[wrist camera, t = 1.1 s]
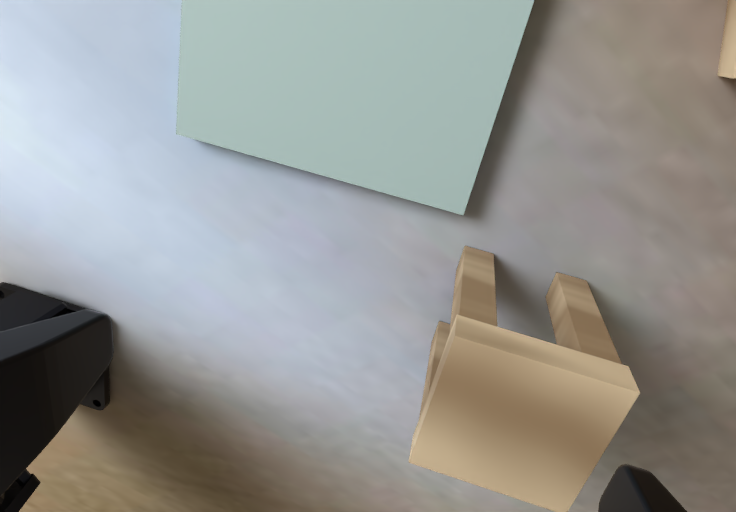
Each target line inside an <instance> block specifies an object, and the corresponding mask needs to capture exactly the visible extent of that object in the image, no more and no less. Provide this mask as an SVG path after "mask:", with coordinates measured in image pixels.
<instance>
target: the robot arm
mask: <svg viewBox="0 0 736 512" xmlns="http://www.w3.org/2000/svg"><path fill="white" fill-rule="evenodd" d="M113 351H114V349H113V334H112V321H111V319H110V317H109V316H108V315H107V314H104V313H101V312H97V311H94V310H89V309H85V308H82V307H79V306H76V305H72V304H69V303H66V302H63V301H60V300H57V299H54V298H51V297H48V296H45V295H42V294H39V293H36V292H33V291H29V290H26V289H23V288H20V287H17V286H14V285H11V284H8V283H4V282H2V283H0V512H19V510H20V509H21V508H22V506H23V505H24V504H25V503H26V501H27V500H28V499H29V497H30V496H31V495H32V493H33V492H34V491H35V489H36V488H37V487H38V485H39V484H40V481H39V480H38V479H37V477H36V476H35V475H34V474H30V473H29V472H28V471H27V470H26V468H27V467H28V466H29V465H30V464H31V462H32V461H33V460H34V459H35V458H36V457H37V456H38V455H39V454H40V453H41V451H42V450H43V449H44V448H45V447H46V446H47V445H48V444H49V442H50V441H51V440H52V439H53V438H54V437H55V435H56V434H57V433H58V432H59V430H60V429H61V428H62V427H63V425H64V424H65V423H66V422H67V420H68V419H69V418H70V416H71V415H72V414H73V412H74V411H75V410H76V408H77V407H78V405H79V404H82V405H85V406H88V407H91V408H93V409H96V410H103V409H104V408H105V407H106V406H107V405H108V404H109V402H110V399H109V364H110V362H111V360H112V357H113ZM598 511H599V512H687V511H686V510H685V509H684V508H683V507H682V505H681V504H680V503H679V502H678V501H677V500H676V499H675V498H674V497H673V496H672V495H671V493H670V492H669V491H668V490H667V489H666V488H665V487H664V486H663V485H662V484H661V483H660V481H659V480H658V479H657V478H656V477H655V476H654V475H653V474H652V473H651V472H649V471H647V470H644V469H641V468H638V467H634V466H631V465H627V464H624V465H621V466H620V467H618V469H617V470H616V472H615V473H614V475H613V477H612V479H611V480H610V482H609V484H608V486H607V487H606V489H605V491H604V493H603V495H602V497H601V499H600V502H599V510H598Z"/></svg>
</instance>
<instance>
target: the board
mask: <svg viewBox="0 0 736 512" xmlns="http://www.w3.org/2000/svg"><path fill="white" fill-rule="evenodd" d="M533 3H534V0H182V9H181V32H180V55H179V78H178V101H177V124H176V134H177V135H181V136H184V137H188V138H191V139H195V140H198V141H202V142H205V143H209V144H212V145H216V146H220V147H223V148H227V149H230V150H234V151H237V152H241V153H244V154H248V155H251V156H255V157H258V158H262V159H266V160H269V161H273V162H276V163H280V164H283V165H287V166H290V167H294V168H297V169H301V170H304V171H308V172H312V173H315V174H319V175H322V176H326V177H329V178H333V179H336V180H340V181H343V182H347V183H350V184H354V185H357V186H361V187H365V188H368V189H372V190H375V191H379V192H382V193H386V194H389V195H393V196H396V197H400V198H403V199H407V200H411V201H414V202H418V203H421V204H425V205H428V206H432V207H435V208H439V209H442V210H446V211H449V212H453V213H457V214H460V215H464V212H465V209H466V206H467V203H468V200H469V197H470V194H471V191H472V188H473V185H474V182H475V179H476V176H477V173H478V170H479V166H480V163H481V160H482V157H483V154H484V151H485V148H486V145H487V142H488V139H489V136H490V133H491V130H492V127H493V124H494V121H495V118H496V115H497V112H498V109H499V106H500V103H501V100H502V97H503V94H504V91H505V88H506V85H507V82H508V79H509V76H510V73H511V70H512V67H513V64H514V61H515V58H516V54H517V51H518V48H519V45H520V42H521V39H522V36H523V33H524V30H525V27H526V24H527V21H528V18H529V15H530V12H531V9H532V6H533Z"/></svg>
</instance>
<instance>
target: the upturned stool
mask: <svg viewBox="0 0 736 512" xmlns="http://www.w3.org/2000/svg"><path fill="white" fill-rule="evenodd" d="M718 76H722V77H728V78H736V0H728V4H727V11H726V19H725V26H724V33H723V40H722V47H721V55H720V62H719V69H718Z"/></svg>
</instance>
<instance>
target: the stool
mask: <svg viewBox="0 0 736 512" xmlns="http://www.w3.org/2000/svg"><path fill="white" fill-rule="evenodd" d="M546 301H547V305H548V309H549V313H550V317H551V322H552V326H553V330H554V334H555V338H556V342H557V345H556V344H553V343H549V342H546V341H543V340H540V339H536V338H533V337H530V336H526V335H523V334H520V333H516V332H513V331H510V330H507V329H503V328H500V327H497V311H496V292H495V273H494V254H492V253H489V252H485V251H482V250H478V249H475V248H471V247H468V246H465V247H464V250H463V253H462V255H461V258H460V261H459V264H458V267H457V270H456V278H455V287H454V296H453V305H452V314H451V323H450V324H447V323H444V322H441V321H439V323H438V326H437V329H436V332H435V334H434V337H433V340H432V344H431V350H430V356H429V362H428V368H427V375H426V381H425V387H424V393H423V399H422V405H421V411H420V417H419V421H418V424H417V426H416V429H415V432H414V435H413V440H412V445H411V451H410V457H409V463H412V464H415V465H418V466H421V467H424V468H427V469H430V470H433V471H436V472H439V473H442V474H445V475H448V476H451V477H454V478H457V479H460V480H463V481H466V482H469V483H472V484H475V485H477V486H480V487H483V488H486V489H489V490H492V491H495V492H498V493H501V494H504V495H507V496H510V497H513V498H516V499H519V500H522V501H525V502H528V503H531V504H534V505H537V506H540V507H543V508H546V509H549V510H552V511H555V512H568V510H569V508H570V507H571V505H572V503H573V502H574V500H575V499H576V497H577V495H578V494H579V492H580V490H581V489H582V487H583V485H584V484H585V482H586V481H587V479H588V477H589V476H590V474H591V472H592V471H593V469H594V467H595V466H596V464H597V463H598V461H599V459H600V458H601V456H602V454H603V453H604V451H605V449H606V448H607V446H608V445H609V443H610V441H611V440H612V438H613V436H614V435H615V433H616V432H617V430H618V428H619V427H620V425H621V423H622V422H623V420H624V418H625V417H626V415H627V414H628V412H629V410H630V409H631V407H632V405H633V404H634V402H635V400H636V399H637V397H638V396H639V394H640V391H639V389H638V387H637V385H636V382H635V380H634V378H633V376H632V373H631V371H630V369H629V367H628V366H625V365H622V363H621V361H620V359H619V356H618V354H617V351H616V349H615V347H614V344H613V342H612V340H611V337H610V335H609V333H608V330H607V328H606V326H605V323H604V321H603V319H602V316H601V314H600V312H599V309H598V307H597V305H596V302H595V300H594V297H593V295H592V293H591V290H590V288H589V286H588V283H587V281H586V280H582V279H579V278H575V277H572V276H569V275H565V274H562V273H558V272H556V275H555V277H554V279H553V281H552V284H551V286H550V288H549V290H548V293H547V295H546Z"/></svg>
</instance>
